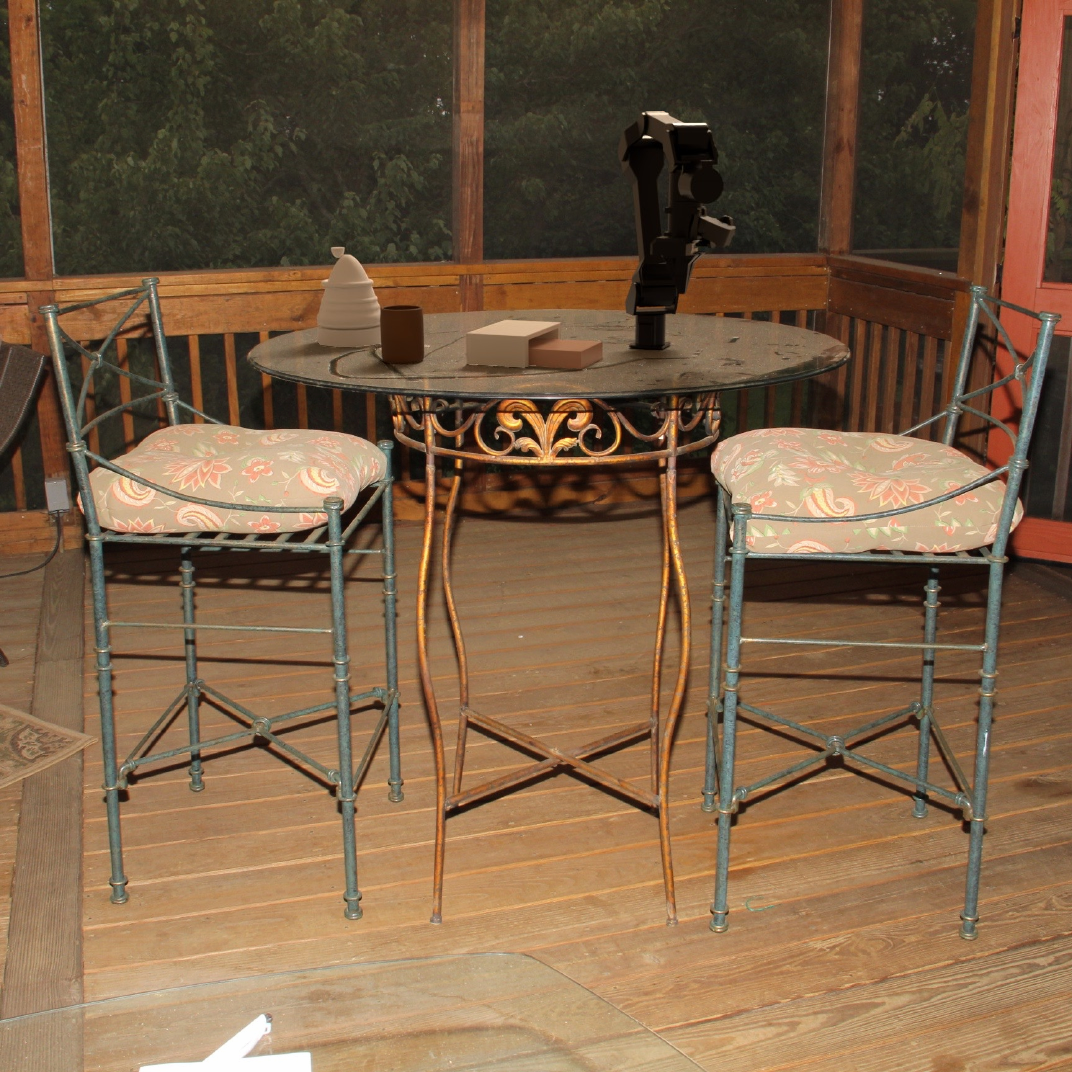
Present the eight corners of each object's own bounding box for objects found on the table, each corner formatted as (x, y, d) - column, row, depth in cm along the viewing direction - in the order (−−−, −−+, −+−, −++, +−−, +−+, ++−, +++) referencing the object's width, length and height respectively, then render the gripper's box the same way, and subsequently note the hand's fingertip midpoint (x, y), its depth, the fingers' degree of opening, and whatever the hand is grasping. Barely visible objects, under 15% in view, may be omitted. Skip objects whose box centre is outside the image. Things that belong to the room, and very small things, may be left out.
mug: (379, 354, 232) (376, 302, 230) (420, 353, 234) (418, 301, 231) (383, 365, 221) (380, 310, 218) (426, 363, 222) (424, 309, 220)
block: (509, 355, 234) (509, 336, 233) (602, 360, 228) (602, 341, 227) (484, 366, 223) (483, 346, 222) (581, 371, 217) (581, 351, 216)
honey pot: (306, 346, 242) (300, 249, 237) (336, 336, 254) (331, 244, 248) (368, 349, 238) (363, 251, 233) (395, 339, 250) (391, 245, 245)
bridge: (505, 349, 237) (505, 319, 235) (561, 352, 233) (561, 322, 232) (466, 364, 221) (466, 333, 219) (525, 368, 217) (525, 336, 216)
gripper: (716, 205, 204) (712, 302, 208) (746, 198, 220) (741, 290, 225) (650, 203, 208) (647, 299, 213) (684, 197, 224) (681, 287, 229)
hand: (682, 293), depth 220 cm, fingers closed
